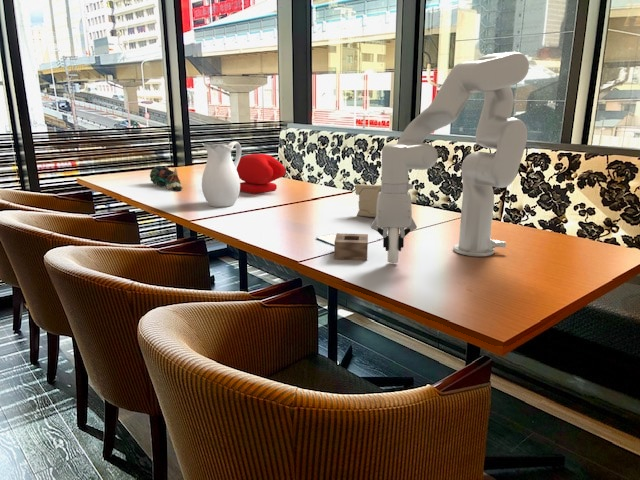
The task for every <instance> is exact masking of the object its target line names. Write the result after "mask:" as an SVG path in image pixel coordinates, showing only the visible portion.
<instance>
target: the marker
mask: <svg viewBox="0 0 640 480" xmlns="http://www.w3.org/2000/svg"><path fill="white" fill-rule="evenodd" d="M387 234H388V251H387V263H390V264H397V263H399V255H400V254H399V252H400V251H399V234H400V228H388V231H387Z"/></svg>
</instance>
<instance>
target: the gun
mask: <svg viewBox="0 0 640 480" xmlns="http://www.w3.org/2000/svg"><path fill="white" fill-rule="evenodd" d="M379 192H381V184H364V183H363V184H355V195H357V196H358V211H357V213H356V216H358V217H364V218H365V217H366V218H374V219H375V218H376V210H377V199H378V194H379Z"/></svg>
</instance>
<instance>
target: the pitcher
mask: <svg viewBox="0 0 640 480" xmlns="http://www.w3.org/2000/svg"><path fill="white" fill-rule="evenodd" d="M201 144H202V146H203V147H204V149H205V150H206V152H207V159H206V163H205V167H204V170H203V173H202V177H201V189H202V194H203V197H204V198H205V200H206V202H207V203H208V205H209V206H211V207H214V208H215V207H216V208H226V207H232V206H233V205H235V204H236V202H237V200H238V198H239V195H240V192H241V191H240V183H241V181H240V180H241V179H240V178H239V175H238V173H237V170H236V169H237V166H238V163H239V161H240V158H241V156H242V149H243V148H242V146H241V144H240V143H239V142H238V141H231V142H229V143H228V144H225V143H223V144H221V143H217V144H216V143H215V144H212V145H210V144H209V145H207V144H204V143H203V142H202V143H201ZM234 146H235V150H236V152H235V153H236V154H235V159H234V161H233V157H232V152H233V151H232V150H233V149H234Z"/></svg>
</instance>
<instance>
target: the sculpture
mask: <svg viewBox="0 0 640 480" xmlns="http://www.w3.org/2000/svg"><path fill="white" fill-rule="evenodd" d="M149 178H150V182H152V184H154V185H158V186H162V187H164V186H165V187H166V189H167V190H168V189H169V190H170V189H172V190H173V191H175V192H181V191H182V190H183V185H182V183H181V180H180V178H179V174H178V169H177V168H176V167H174V171H173V170H171V169H169V167H168V166H165V165H164V166H162V165H159V166H154V167H153V168H152V169H151V171H150V174H149Z"/></svg>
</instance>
